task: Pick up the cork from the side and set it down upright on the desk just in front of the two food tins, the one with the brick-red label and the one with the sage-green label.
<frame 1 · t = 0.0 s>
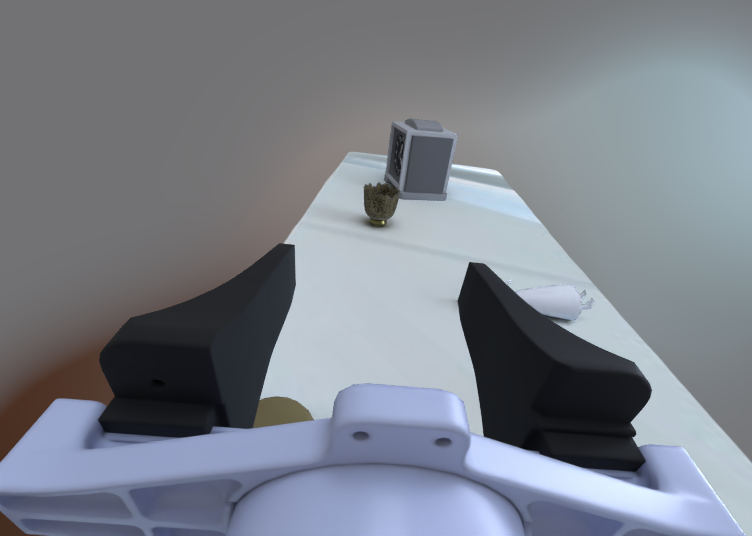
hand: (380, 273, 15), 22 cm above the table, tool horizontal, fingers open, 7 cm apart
cup: (377, 225, 76), on the table
woman figurine: (522, 310, 54), on the table
alarm clock: (413, 189, 102), on the table
cork: (277, 523, 26), on the table
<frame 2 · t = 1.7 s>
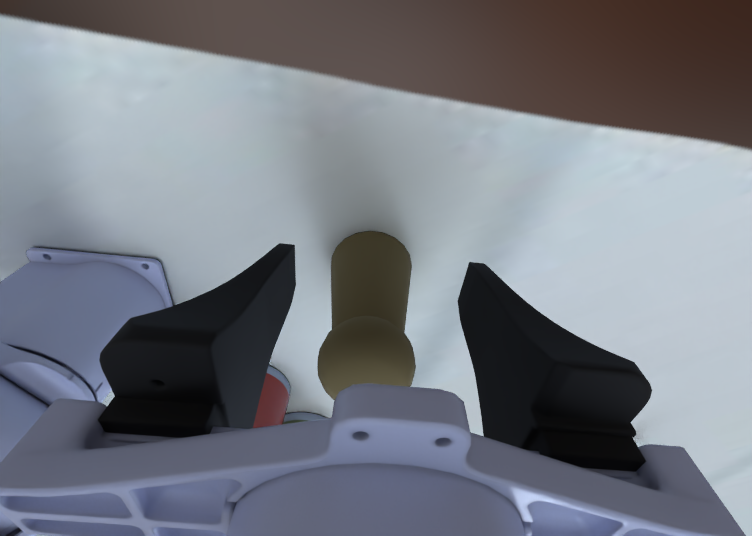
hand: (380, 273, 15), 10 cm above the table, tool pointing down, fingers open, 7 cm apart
red tin: (252, 385, 35), on the table
green tin: (305, 431, 39), on the table
cork: (371, 265, 27), on the table
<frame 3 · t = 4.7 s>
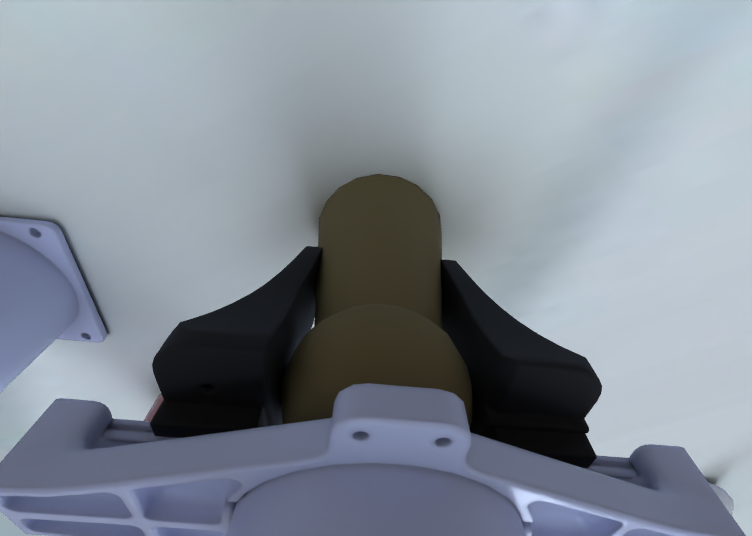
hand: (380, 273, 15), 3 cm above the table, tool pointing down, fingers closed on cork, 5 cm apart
cork: (379, 232, 18), on the table, touching gripper
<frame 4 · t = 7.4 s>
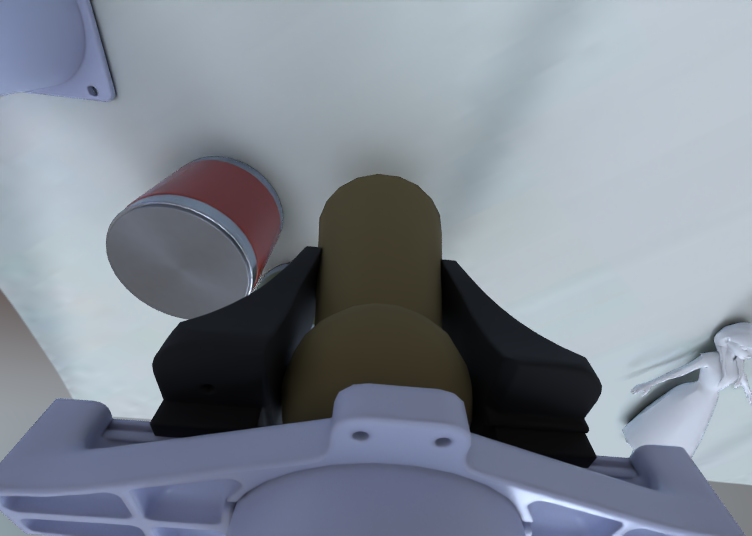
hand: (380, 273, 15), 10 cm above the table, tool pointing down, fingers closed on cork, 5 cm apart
red tin: (229, 209, 24), on the table
woman figurine: (677, 384, 34), on the table
cork: (379, 231, 18), point 7 cm above the table, touching gripper
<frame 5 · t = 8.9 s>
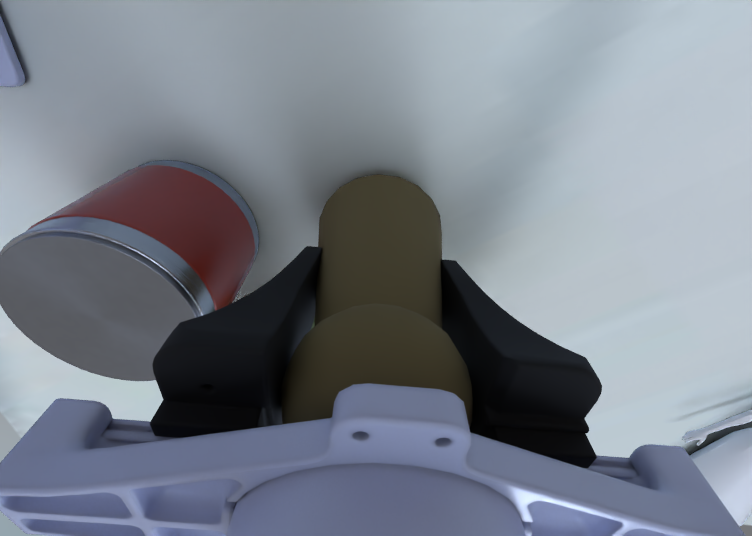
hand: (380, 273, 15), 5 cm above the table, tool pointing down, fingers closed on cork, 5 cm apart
red tin: (189, 228, 19), on the table
woman figurine: (733, 427, 29), on the table
cork: (379, 232, 18), point 1 cm above the table, touching gripper
when the fingers open (3 cm above the table, at t = 9.9 s): cork stays where it is, on the table.
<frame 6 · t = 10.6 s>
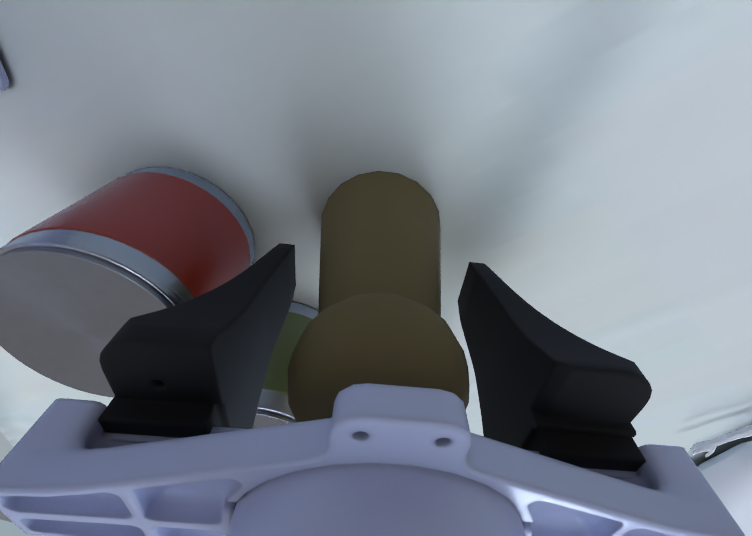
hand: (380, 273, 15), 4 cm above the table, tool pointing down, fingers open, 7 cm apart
red tin: (183, 236, 19), on the table
green tin: (287, 344, 23), on the table
woman figurine: (742, 437, 28), on the table
cork: (380, 227, 18), on the table
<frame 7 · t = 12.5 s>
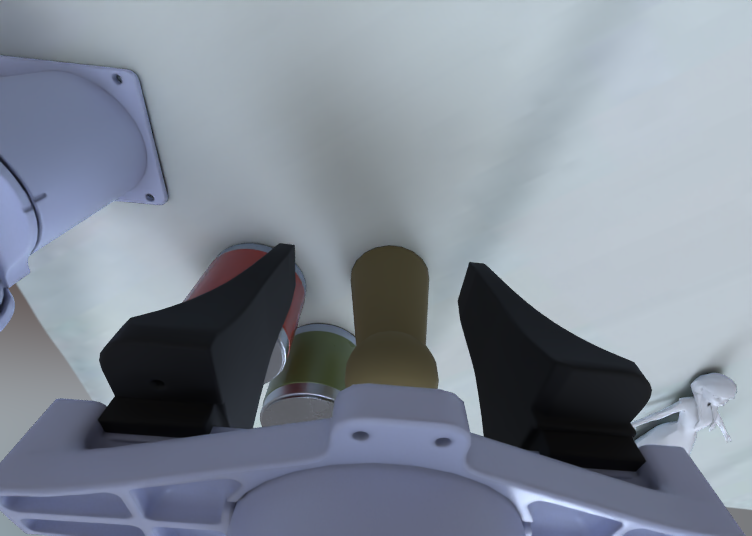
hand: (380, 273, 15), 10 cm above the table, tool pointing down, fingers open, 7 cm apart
red tin: (259, 283, 28), on the table
green tin: (323, 353, 32), on the table
woman figurine: (660, 422, 37), on the table
cork: (389, 277, 28), on the table
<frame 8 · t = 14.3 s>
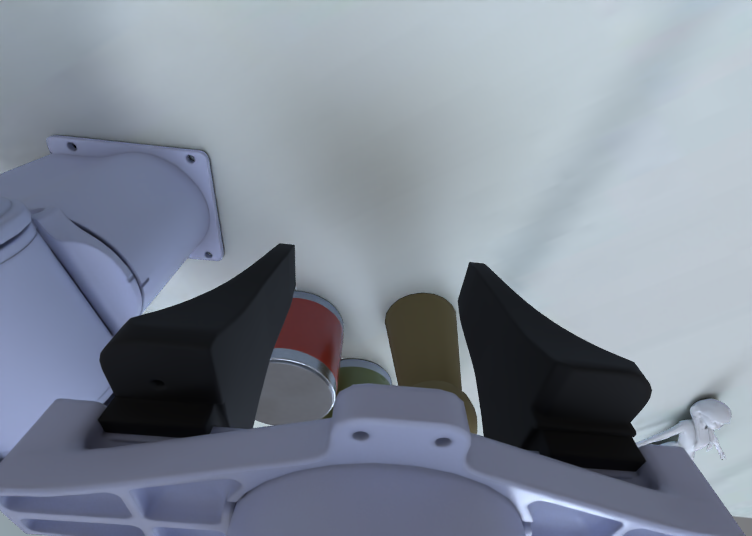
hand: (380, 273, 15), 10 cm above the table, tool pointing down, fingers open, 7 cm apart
red tin: (300, 324, 31), on the table
green tin: (354, 384, 35), on the table
woman figurine: (661, 440, 41), on the table
cork: (420, 319, 30), on the table
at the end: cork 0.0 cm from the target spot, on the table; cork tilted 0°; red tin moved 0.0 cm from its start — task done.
